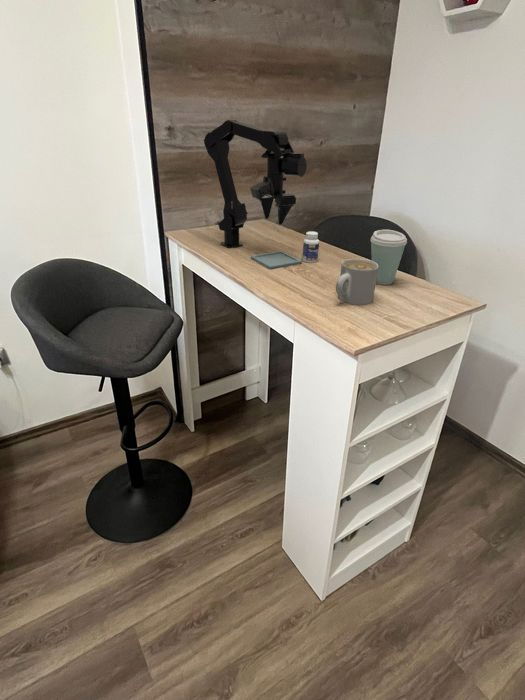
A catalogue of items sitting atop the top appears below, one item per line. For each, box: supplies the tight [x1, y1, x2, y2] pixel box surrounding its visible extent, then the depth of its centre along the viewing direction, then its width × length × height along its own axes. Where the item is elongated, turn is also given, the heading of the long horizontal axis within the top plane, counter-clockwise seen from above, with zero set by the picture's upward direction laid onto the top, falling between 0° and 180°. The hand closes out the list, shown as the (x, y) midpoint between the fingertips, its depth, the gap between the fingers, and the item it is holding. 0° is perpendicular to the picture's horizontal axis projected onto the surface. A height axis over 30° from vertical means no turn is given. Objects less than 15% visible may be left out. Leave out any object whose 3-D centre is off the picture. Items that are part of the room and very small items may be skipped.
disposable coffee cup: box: [369, 229, 408, 286], centre depth 129 cm, size 11×11×15 cm
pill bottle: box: [301, 231, 320, 264], centre depth 146 cm, size 5×5×10 cm
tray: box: [250, 250, 303, 270], centre depth 147 cm, size 13×13×1 cm
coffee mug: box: [335, 258, 379, 306], centre depth 117 cm, size 13×10×10 cm
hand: (273, 221), depth 148 cm, fingers open, 9 cm apart
